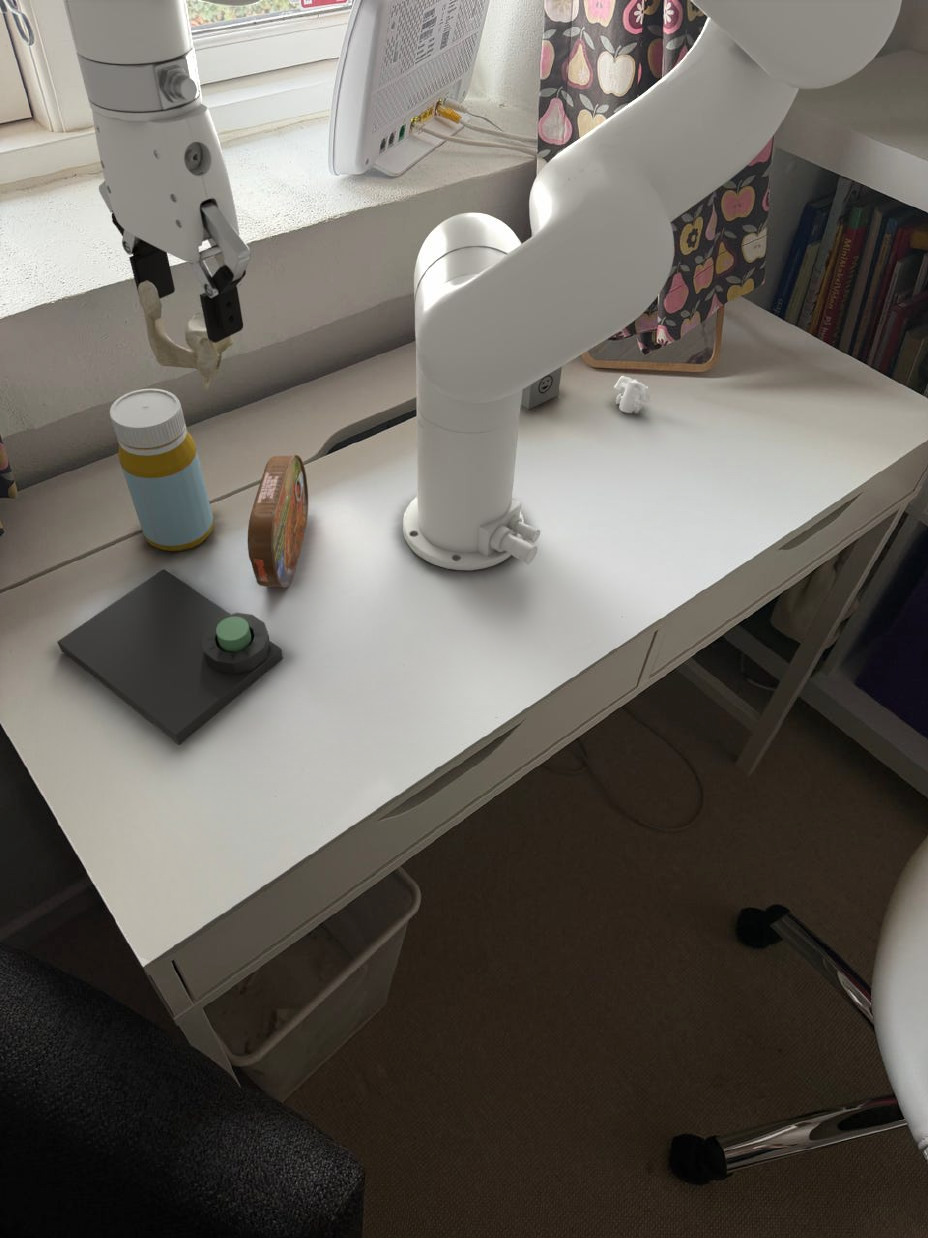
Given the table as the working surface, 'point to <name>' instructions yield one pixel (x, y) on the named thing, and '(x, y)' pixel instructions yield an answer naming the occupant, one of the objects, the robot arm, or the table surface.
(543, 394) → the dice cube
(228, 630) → the button
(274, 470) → the tin
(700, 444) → the table surface
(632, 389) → the clip
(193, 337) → the bone
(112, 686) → the scale
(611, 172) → the robot arm
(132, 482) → the bottle
